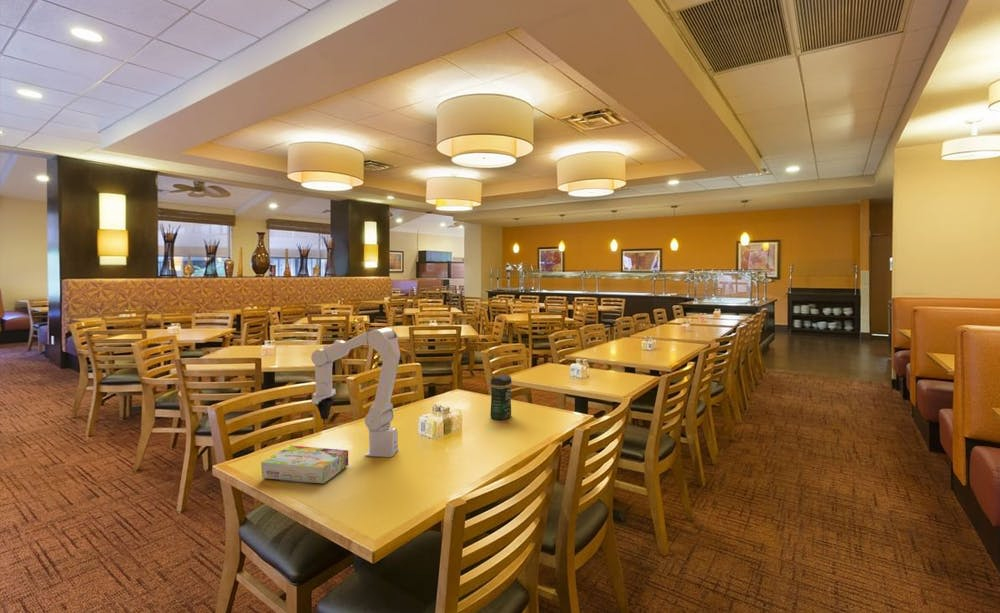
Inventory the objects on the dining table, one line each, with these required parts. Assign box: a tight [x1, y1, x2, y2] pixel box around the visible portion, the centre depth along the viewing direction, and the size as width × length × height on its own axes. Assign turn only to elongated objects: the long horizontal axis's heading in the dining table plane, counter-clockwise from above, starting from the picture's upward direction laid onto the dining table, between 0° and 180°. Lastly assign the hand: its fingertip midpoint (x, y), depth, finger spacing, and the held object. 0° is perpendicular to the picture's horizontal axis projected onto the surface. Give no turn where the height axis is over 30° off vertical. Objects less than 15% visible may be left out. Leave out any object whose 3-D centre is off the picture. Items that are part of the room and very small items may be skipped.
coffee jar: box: [489, 374, 513, 420], centre depth 213 cm, size 10×8×19 cm
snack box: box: [260, 445, 349, 484], centre depth 153 cm, size 21×6×15 cm
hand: (324, 418), depth 176 cm, fingers closed
